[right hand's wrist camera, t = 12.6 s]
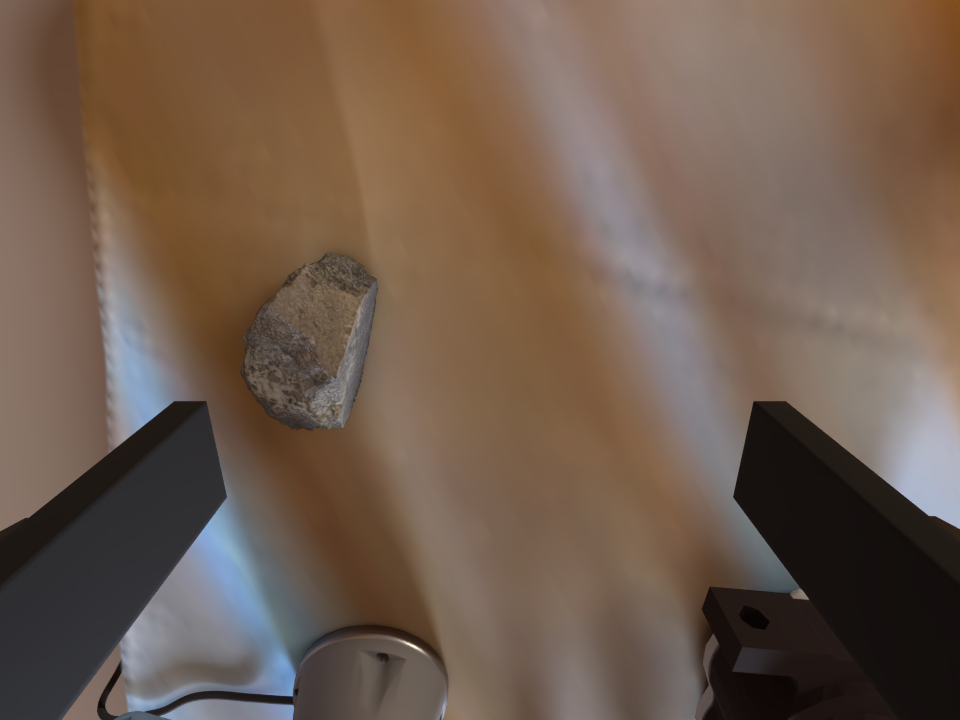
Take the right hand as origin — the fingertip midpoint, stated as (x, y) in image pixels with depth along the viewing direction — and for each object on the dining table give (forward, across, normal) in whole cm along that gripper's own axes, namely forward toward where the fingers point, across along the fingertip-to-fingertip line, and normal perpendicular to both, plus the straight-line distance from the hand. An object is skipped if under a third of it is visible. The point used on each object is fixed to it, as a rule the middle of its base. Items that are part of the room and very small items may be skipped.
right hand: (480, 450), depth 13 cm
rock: (+26, +13, +6) cm, 30 cm away
